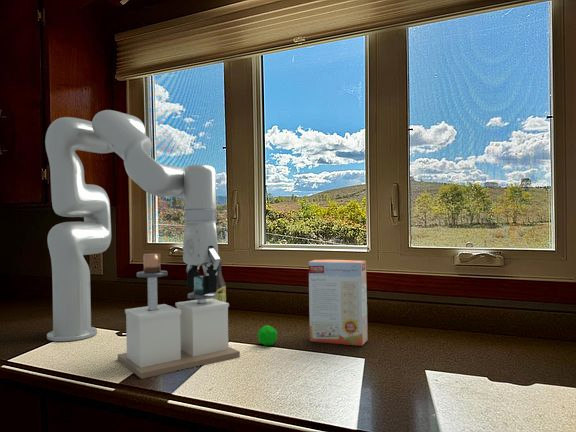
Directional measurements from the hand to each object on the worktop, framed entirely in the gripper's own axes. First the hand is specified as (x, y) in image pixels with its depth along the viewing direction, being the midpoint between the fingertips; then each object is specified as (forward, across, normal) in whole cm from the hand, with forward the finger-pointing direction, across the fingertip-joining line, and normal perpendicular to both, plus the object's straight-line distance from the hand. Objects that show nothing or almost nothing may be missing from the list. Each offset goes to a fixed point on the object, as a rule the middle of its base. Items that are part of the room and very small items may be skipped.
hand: (201, 290), depth 110 cm
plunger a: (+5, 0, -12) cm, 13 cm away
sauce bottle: (+15, -22, +15) cm, 31 cm away
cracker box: (+15, +13, +32) cm, 38 cm away
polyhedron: (+15, +4, +16) cm, 23 cm away
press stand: (+15, 0, -6) cm, 16 cm away
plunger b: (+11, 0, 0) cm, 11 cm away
